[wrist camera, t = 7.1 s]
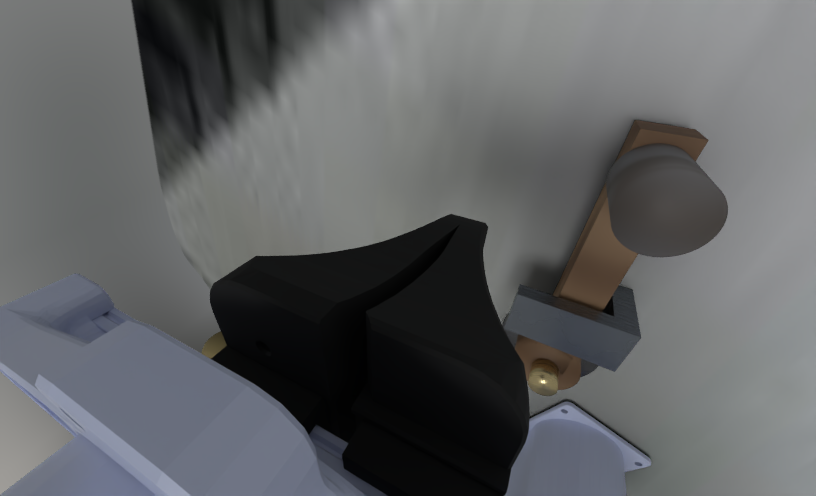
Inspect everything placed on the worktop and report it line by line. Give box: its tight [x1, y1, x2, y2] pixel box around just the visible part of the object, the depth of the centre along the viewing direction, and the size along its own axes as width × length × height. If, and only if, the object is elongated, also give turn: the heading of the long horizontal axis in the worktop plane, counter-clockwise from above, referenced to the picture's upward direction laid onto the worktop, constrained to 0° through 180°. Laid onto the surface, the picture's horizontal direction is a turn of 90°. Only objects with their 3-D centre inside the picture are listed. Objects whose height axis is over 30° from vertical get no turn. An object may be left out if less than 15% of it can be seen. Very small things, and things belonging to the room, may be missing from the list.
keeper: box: [504, 284, 641, 372], centre depth 20 cm, size 3×6×4 cm, turn 85°
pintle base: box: [502, 314, 598, 396], centre depth 23 cm, size 7×7×4 cm
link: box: [515, 120, 728, 390], centre depth 17 cm, size 18×4×6 cm, turn 175°
